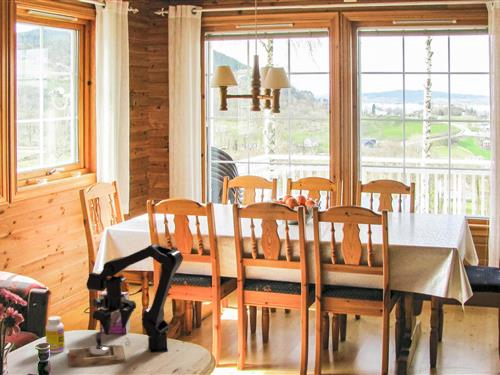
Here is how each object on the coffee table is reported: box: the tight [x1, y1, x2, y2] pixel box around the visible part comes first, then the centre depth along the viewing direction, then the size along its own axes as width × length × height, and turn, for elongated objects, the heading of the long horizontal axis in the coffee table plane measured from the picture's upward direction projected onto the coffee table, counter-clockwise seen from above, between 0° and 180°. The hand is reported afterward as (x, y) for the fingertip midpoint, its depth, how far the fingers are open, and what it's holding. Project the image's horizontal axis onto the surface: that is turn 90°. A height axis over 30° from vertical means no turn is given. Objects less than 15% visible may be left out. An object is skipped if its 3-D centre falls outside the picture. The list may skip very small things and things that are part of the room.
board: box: [68, 344, 126, 368], centre depth 286 cm, size 20×15×2 cm
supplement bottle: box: [45, 315, 66, 354], centre depth 292 cm, size 7×7×13 cm
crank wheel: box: [89, 331, 109, 357], centre depth 286 cm, size 10×7×6 cm, turn 13°
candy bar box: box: [98, 290, 131, 335], centre depth 312 cm, size 11×5×16 cm, turn 82°
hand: (115, 331), depth 299 cm, fingers open, 9 cm apart
